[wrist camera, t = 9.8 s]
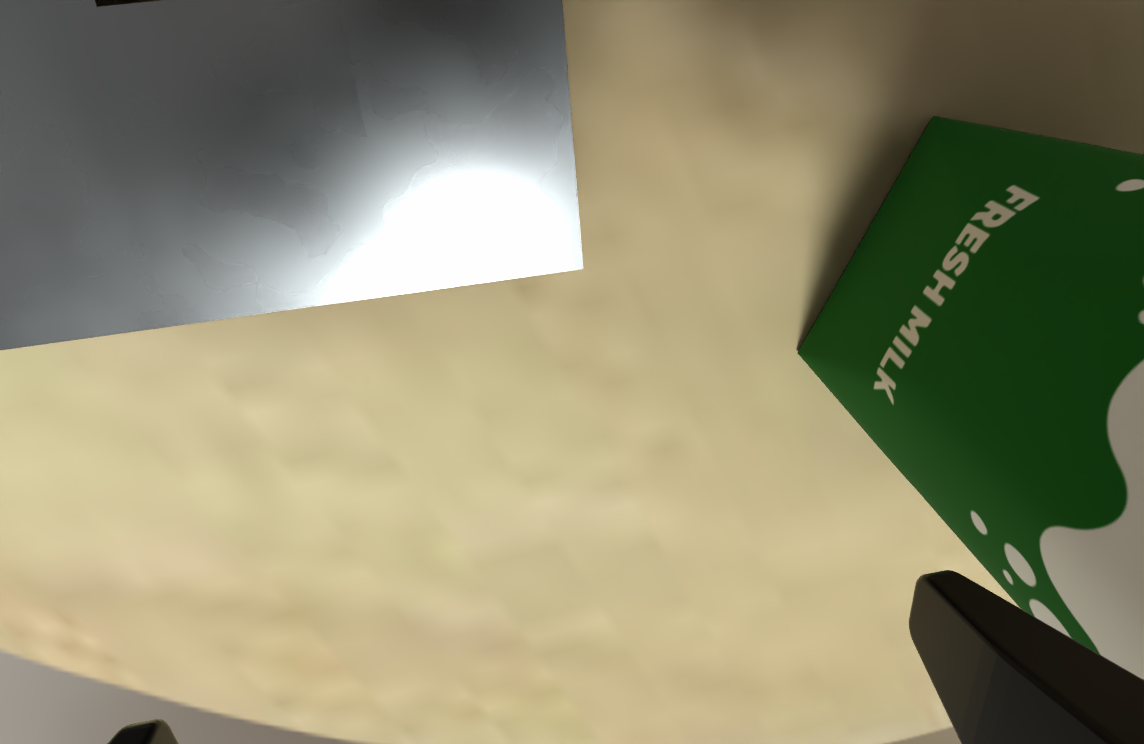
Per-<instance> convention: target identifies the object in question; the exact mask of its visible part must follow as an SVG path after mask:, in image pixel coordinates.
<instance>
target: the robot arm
mask: <svg viewBox="0 0 1144 744" xmlns="http://www.w3.org/2000/svg"><path fill="white" fill-rule="evenodd" d="M909 629H910V634H911V637H912V640H913V642H914V644H915V647H916V649H917V651H918V653H919V655H920V657H921V659H922V661H923V664H924V666H925V668H926V670H927V672H928V674H929V676H930V678H931V680H932V683H933V685H934V687H935V689H936V691H937V693H938V695H939V697H940V699H941V702H942V704H943V706H944V708H945V710H946V712H947V714H948V716H949V718H950V721H951V723H952V725H953V727H954V729H955V731H956V733H957V735H958V738H959V739H960V741H961V743H962V744H1144V680H1143V679H1141V678H1140V677H1138V676H1136V675H1134V674H1133V673H1131V672H1129V671H1128V670H1126V669H1124V668H1122V667H1121V666H1119V665H1117V664H1115V663H1114V662H1112V661H1110V660H1108V659H1107V658H1105V657H1103V656H1101V655H1100V654H1098V653H1096V652H1095V651H1093V650H1091V649H1089V648H1088V647H1086V646H1084V645H1082V644H1081V643H1079V642H1077V641H1075V640H1074V639H1072V638H1070V637H1069V636H1067V635H1065V634H1063V633H1062V632H1060V631H1058V630H1056V629H1055V628H1053V627H1051V626H1049V625H1048V624H1046V623H1044V622H1042V621H1041V620H1039V619H1037V618H1036V617H1034V616H1032V615H1030V614H1029V613H1027V612H1025V611H1023V610H1022V609H1020V608H1018V607H1016V606H1015V605H1013V604H1011V603H1010V602H1008V601H1006V600H1004V599H1003V598H1001V597H999V596H997V595H996V594H994V593H992V592H990V591H989V590H987V589H985V588H983V587H982V586H980V585H978V584H977V583H975V582H973V581H971V580H970V579H968V578H966V577H964V576H963V575H961V574H959V573H957V572H954V571H950V570H946V571H940V572H935V573H929V574H924V575H922V576H920V577H919V579H918V580H917V582H916V586H915V591H914V596H913V602H912V607H911V612H910V618H909ZM108 744H178V742H177V740H176V738H175V736H174V734H173V733H172V731H171V729H170V727H169V726H168V724H167V723H166V722H165V721H163V720H161V719H155V720H150V721H145V722H139V723H134V724H130V725H127V726H125V727H123V728H122V729H121V730H119V731H118V732H117V733H116V735H115V736H114V737H113V738H112V739H111V740H110V742H109V743H108Z"/></svg>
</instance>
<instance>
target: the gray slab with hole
mask: <svg viewBox="0 0 1144 744" xmlns="http://www.w3.org/2000/svg"><path fill="white" fill-rule="evenodd" d="M579 269H583V259H582V246H581V233H580V221H579V208H578V195H577V183H576V170H575V158H574V145H573V132H572V120H571V107H570V94H569V82H568V69H567V56H566V44H565V31H564V18H563V6H562V0H0V350H6V349H13V348H20V347H27V346H34V345H42V344H49V343H56V342H63V341H70V340H77V339H85V338H92V337H99V336H106V335H113V334H120V333H128V332H135V331H142V330H149V329H156V328H163V327H171V326H178V325H185V324H192V323H199V322H206V321H214V320H221V319H228V318H235V317H242V316H249V315H257V314H264V313H271V312H278V311H285V310H292V309H300V308H307V307H314V306H321V305H328V304H335V303H343V302H350V301H357V300H364V299H371V298H378V297H386V296H393V295H400V294H407V293H414V292H421V291H429V290H436V289H443V288H450V287H457V286H464V285H472V284H479V283H486V282H493V281H500V280H507V279H515V278H522V277H529V276H536V275H543V274H550V273H558V272H565V271H572V270H579Z"/></svg>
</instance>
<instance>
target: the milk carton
mask: <svg viewBox="0 0 1144 744" xmlns="http://www.w3.org/2000/svg"><path fill="white" fill-rule="evenodd" d="M798 354H799V355H800V356H801V357H802V359H803V360H804V361H805V362H806V363H807V364H808V366H809V367H810V368H811V369H812V370H813V371H814V373H815V374H816V375H817V376H818V377H819V378H820V379H821V381H822V382H823V383H824V384H825V385H826V386H827V388H828V389H829V390H830V391H831V392H832V393H833V395H834V396H835V397H836V398H837V399H838V400H839V402H840V403H841V404H842V405H843V406H844V407H845V409H846V410H847V411H848V412H849V413H850V414H851V415H852V417H853V418H854V419H855V420H856V421H857V422H858V424H859V425H860V426H861V427H862V428H863V429H864V431H865V432H866V433H867V434H868V435H869V436H870V437H871V439H872V440H873V441H874V442H875V443H876V444H877V446H878V447H879V448H880V449H881V450H882V451H883V452H884V454H885V455H886V456H887V457H888V458H889V459H890V460H891V462H892V463H893V464H894V465H895V466H896V467H897V468H898V469H899V471H900V472H901V473H902V474H903V475H904V476H905V477H906V479H907V480H908V481H909V482H910V483H911V484H912V485H913V486H914V487H915V488H916V490H917V491H918V492H919V493H920V494H921V495H922V496H923V497H924V499H925V500H926V501H927V502H928V503H929V504H930V505H931V507H932V508H933V509H934V510H935V511H936V512H937V514H938V515H939V516H940V517H941V518H942V519H943V521H944V522H945V523H946V524H947V525H948V526H949V527H950V529H951V530H952V531H953V532H954V533H955V534H956V535H957V537H958V538H959V539H960V540H961V541H962V542H963V543H964V544H965V546H966V547H967V548H968V549H969V550H970V551H971V552H972V554H973V555H974V556H975V557H976V558H977V559H978V560H979V562H980V563H981V564H982V565H983V566H984V567H985V568H986V569H987V571H988V572H989V573H990V574H991V575H992V576H993V577H994V579H995V580H996V581H997V582H998V583H999V584H1000V585H1001V587H1002V588H1003V589H1004V590H1005V591H1006V592H1007V593H1008V595H1009V596H1010V597H1011V598H1012V599H1013V600H1014V601H1015V602H1016V604H1017V605H1018V606H1019V607H1020V608H1021V609H1022V610H1023V611H1025V612H1027V613H1029V614H1030V615H1032V616H1034V617H1036V618H1037V619H1039V620H1041V621H1042V622H1044V623H1046V624H1048V625H1049V626H1051V627H1053V628H1055V629H1056V630H1058V631H1060V632H1062V633H1063V634H1065V635H1067V636H1069V637H1070V638H1072V639H1074V640H1075V641H1077V642H1079V643H1081V644H1082V645H1084V646H1086V647H1088V648H1089V649H1091V650H1093V651H1095V652H1096V653H1098V654H1100V655H1101V656H1103V657H1105V658H1107V659H1108V660H1110V661H1112V662H1114V663H1115V664H1117V665H1119V666H1121V667H1122V668H1124V669H1126V670H1128V671H1129V672H1131V673H1133V674H1134V675H1136V676H1138V677H1140V678H1141V679H1143V680H1144V155H1143V154H1137V153H1132V152H1126V151H1120V150H1115V149H1110V148H1105V147H1100V146H1095V145H1090V144H1085V143H1079V142H1074V141H1068V140H1063V139H1057V138H1052V137H1046V136H1041V135H1035V134H1030V133H1024V132H1019V131H1013V130H1007V129H1002V128H996V127H991V126H985V125H979V124H974V123H968V122H963V121H957V120H952V119H947V118H942V117H937V116H933V117H932V118H931V120H930V122H929V124H928V125H927V127H926V129H925V131H924V132H923V134H922V136H921V138H920V139H919V141H918V143H917V145H916V146H915V148H914V150H913V152H912V153H911V155H910V157H909V159H908V160H907V162H906V164H905V166H904V167H903V169H902V171H901V173H900V174H899V176H898V178H897V180H896V181H895V183H894V185H893V187H892V188H891V190H890V192H889V194H888V195H887V197H886V199H885V201H884V202H883V204H882V206H881V208H880V209H879V211H878V213H877V215H876V216H875V218H874V220H873V222H872V223H871V225H870V227H869V229H868V230H867V232H866V234H865V236H864V237H863V239H862V241H861V243H860V244H859V246H858V248H857V250H856V251H855V253H854V255H853V257H852V258H851V260H850V262H849V264H848V265H847V267H846V269H845V271H844V272H843V274H842V276H841V278H840V279H839V281H838V283H837V285H836V286H835V288H834V290H833V292H832V293H831V295H830V297H829V299H828V300H827V302H826V304H825V306H824V307H823V309H822V311H821V313H820V314H819V316H818V318H817V320H816V321H815V323H814V325H813V327H812V328H811V330H810V332H809V334H808V335H807V337H806V339H805V341H804V342H803V344H802V346H801V348H800V349H799V351H798Z"/></svg>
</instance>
